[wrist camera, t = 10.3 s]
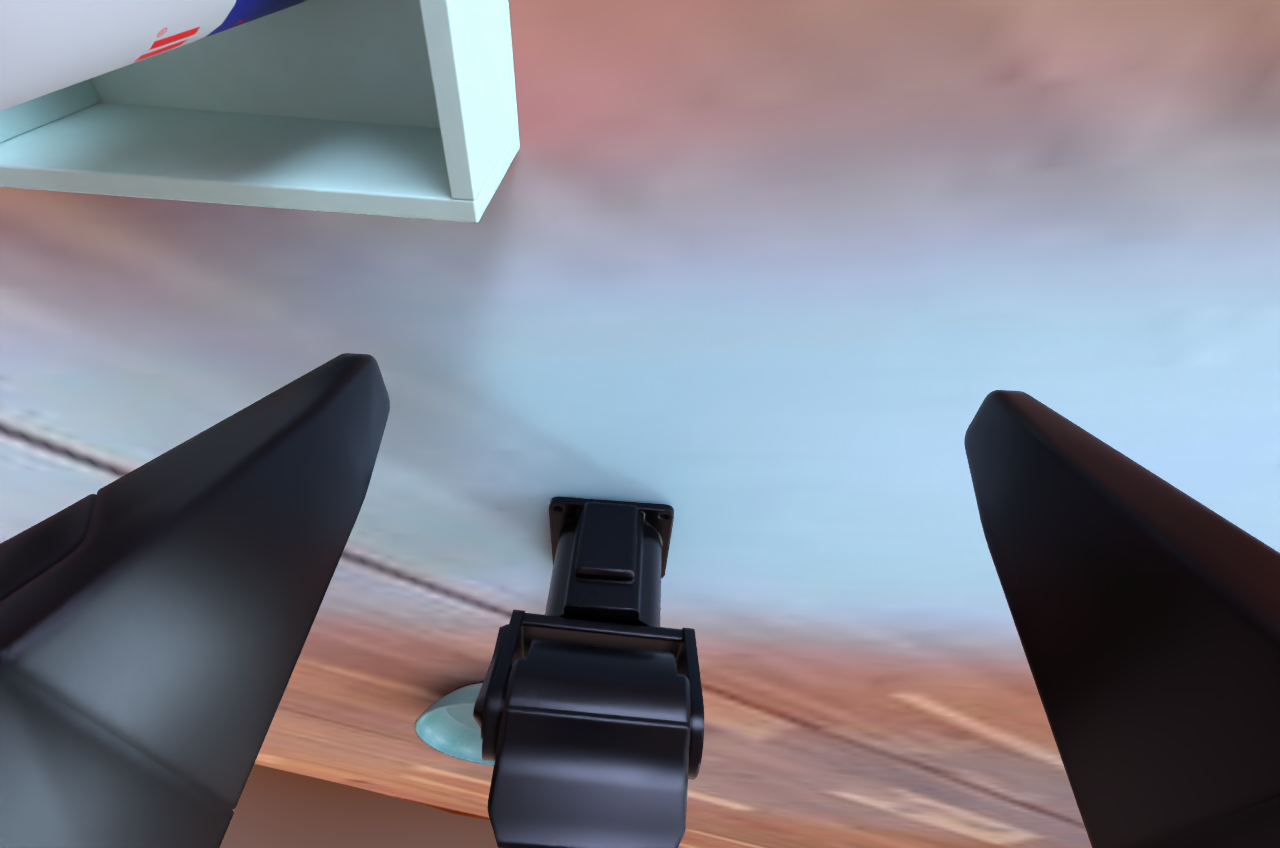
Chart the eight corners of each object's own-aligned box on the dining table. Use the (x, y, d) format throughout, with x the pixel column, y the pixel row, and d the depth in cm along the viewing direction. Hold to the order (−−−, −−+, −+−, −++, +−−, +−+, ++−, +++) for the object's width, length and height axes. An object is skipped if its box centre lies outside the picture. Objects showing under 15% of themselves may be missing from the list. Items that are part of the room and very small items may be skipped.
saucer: (560, 748, 57) (556, 779, 55) (408, 716, 53) (398, 748, 51) (624, 696, 48) (622, 730, 46) (446, 653, 44) (435, 689, 42)
